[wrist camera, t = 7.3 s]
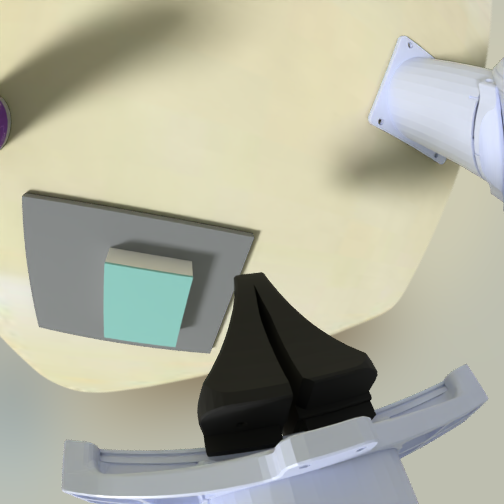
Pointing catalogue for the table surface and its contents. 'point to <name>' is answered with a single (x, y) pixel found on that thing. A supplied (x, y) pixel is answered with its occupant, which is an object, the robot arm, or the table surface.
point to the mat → (132, 239)
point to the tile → (145, 296)
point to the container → (4, 122)
